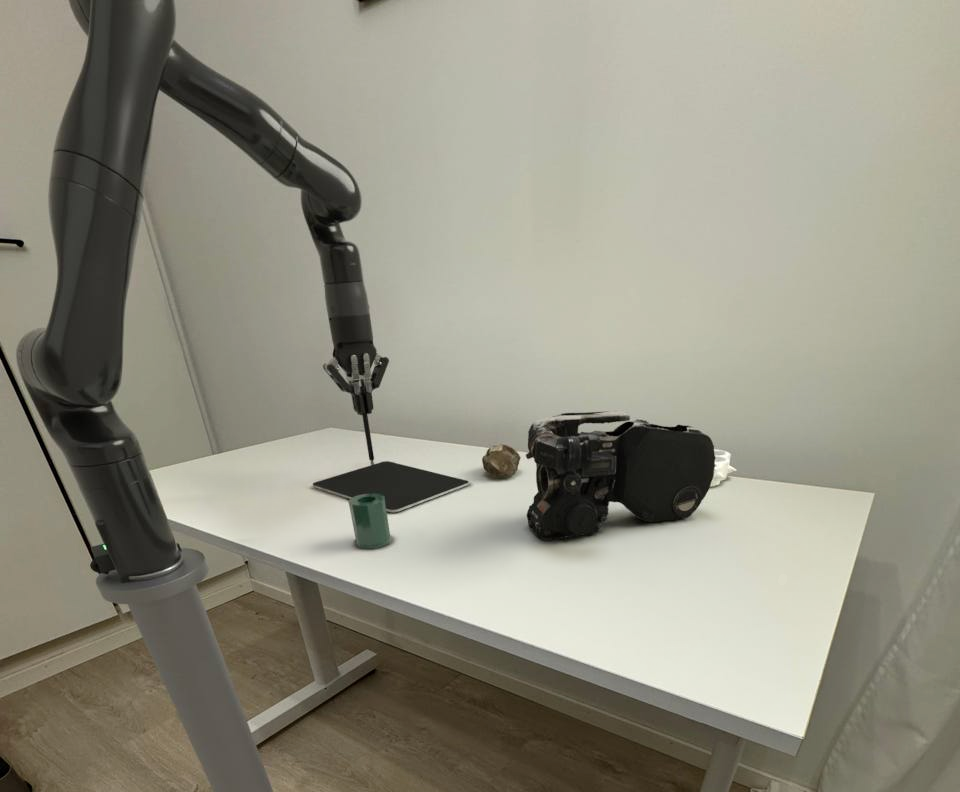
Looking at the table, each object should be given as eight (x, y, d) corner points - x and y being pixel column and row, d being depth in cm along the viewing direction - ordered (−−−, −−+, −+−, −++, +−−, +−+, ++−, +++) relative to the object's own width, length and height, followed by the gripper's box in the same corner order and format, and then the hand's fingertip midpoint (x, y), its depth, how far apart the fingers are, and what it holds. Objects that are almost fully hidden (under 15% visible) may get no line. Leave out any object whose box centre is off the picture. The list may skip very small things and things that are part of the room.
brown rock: (488, 454, 120) (470, 475, 113) (501, 428, 115) (482, 449, 108) (518, 473, 120) (501, 495, 113) (531, 448, 115) (515, 470, 108)
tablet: (309, 483, 114) (385, 460, 126) (310, 486, 114) (386, 463, 126) (393, 510, 98) (471, 481, 110) (393, 514, 98) (471, 484, 110)
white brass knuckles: (673, 461, 117) (745, 470, 108) (634, 484, 105) (711, 497, 97) (676, 444, 115) (749, 453, 107) (636, 466, 104) (715, 477, 95)
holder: (366, 552, 85) (358, 508, 81) (350, 541, 89) (342, 499, 85) (397, 542, 88) (390, 499, 84) (380, 532, 91) (374, 491, 88)
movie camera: (533, 557, 78) (537, 426, 69) (506, 519, 93) (506, 408, 85) (735, 540, 82) (762, 414, 74) (677, 506, 98) (694, 399, 89)
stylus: (371, 465, 115) (359, 387, 106) (369, 464, 115) (356, 386, 107) (375, 464, 115) (363, 386, 107) (373, 463, 116) (361, 385, 108)
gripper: (372, 309, 106) (385, 406, 116) (305, 315, 100) (325, 417, 109) (391, 309, 101) (403, 410, 110) (322, 315, 94) (341, 422, 104)
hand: (364, 413), depth 110 cm, fingers closed on stylus, 1 cm apart
